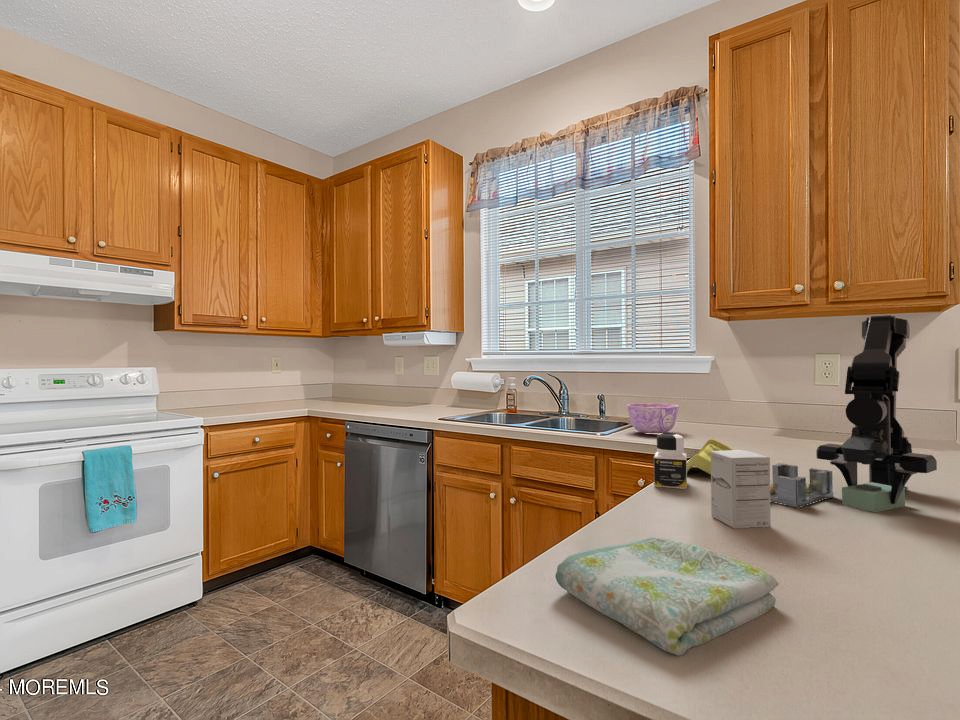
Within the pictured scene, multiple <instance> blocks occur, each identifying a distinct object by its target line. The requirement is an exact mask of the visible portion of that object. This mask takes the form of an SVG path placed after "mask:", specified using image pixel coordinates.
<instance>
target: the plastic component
mask: <svg viewBox="0 0 960 720" xmlns="http://www.w3.org/2000/svg"><path fill="white" fill-rule="evenodd" d="M725 450H734V449H733V448H732V447H730V446H729V445H727V444H725V443H722V442H720V441H718V440H716V439H715V438H710V439H708V440H707V441H706V442H705V444H704V445H703V446H702V448H700V450H699V451H698V452H697V453H696V454H694V455H692V456H691V458H690V459H689V461H687V473H688V472H689V471H690V470H691V469H692V468H693V467H696V468H698V469H699V470H701V471H703V472H705V473H707V474H708V475H711V451H725Z"/></svg>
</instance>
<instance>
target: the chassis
mask: <svg viewBox="0 0 960 720" xmlns="http://www.w3.org/2000/svg"><path fill="white" fill-rule="evenodd" d="M771 467H772V469H771V470H772V484H770V501H771V502H770V503H772V502H777V503H782V504H786V505H790V506H794V507H793V508H795V507H800V506H803V507H805V506H804V505H806V506H808V505H807V504H809V505H811V504H810V503H812V504H814V503H813V502H815V503H817V502H816V501H819V500H822V499H825V498H828V499H830V498H829V497H831V498H833V497H834V492H833V491H834V490H833V488H834V487H833V470H828V469H818V468H813V467H812V468H811V467H810V468H809V484H808V483H807V482H806V481H807V479H806V478H807V477H804V476H799V473H798V472H799V466H798V465H795V464H787V463H781V462H780V463H779V462H778V463H777V464H772V466H771ZM825 500H826V499H825ZM822 501H823V500H822ZM819 502H820V501H819ZM790 506H789V507H790ZM800 508H801V507H800Z"/></svg>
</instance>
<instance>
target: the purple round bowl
mask: <svg viewBox="0 0 960 720" xmlns="http://www.w3.org/2000/svg"><path fill="white" fill-rule="evenodd" d="M626 408H627V411H628V415H629V419H630V424H631V426H632V427H633V428H634V429H635V430H636V431H638V432H641V433H642V432H643V433H664V434H666V433H667V432H670V431H671V430H673V428H674V427H675V424H676V421H677V418H678V417H677V416H678V412H679V408H680V406H679V405H678V404H672V403H656V402H655V403H652V402H651V403H648V402H647V403H646V402H644V403H642V402H641V403H640V402H639V403H628V404H626Z"/></svg>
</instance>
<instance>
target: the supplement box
mask: <svg viewBox="0 0 960 720" xmlns="http://www.w3.org/2000/svg"><path fill="white" fill-rule="evenodd" d="M770 485H771V458H770V456H766V455H763V454H759V453H755V452H753V451H749V450H746V449H733V450H725V451H711V474H710V487H711V489H710V495H711V496H710V499H711V500H710V503H711V505H710V507H711V508H710V509H711V517H712V518H715V519H717V520H718V521H720V522H722V523H724V524H726V526H727V525H728V526H729V527H731V528H732V529H734V528H736V529H751V528H750V527H762V528H766V527H765V526H770V527H771V525H772V524H771V523H772V522H771V502H770Z"/></svg>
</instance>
